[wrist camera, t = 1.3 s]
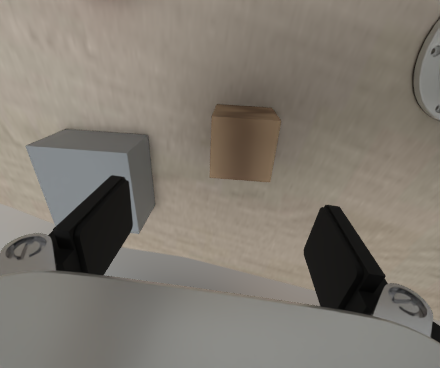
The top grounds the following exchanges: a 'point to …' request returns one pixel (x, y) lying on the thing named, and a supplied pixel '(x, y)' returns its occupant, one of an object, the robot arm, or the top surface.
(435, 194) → the top surface
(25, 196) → the top surface
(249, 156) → the walnut block
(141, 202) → the slate stand
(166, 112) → the top surface
